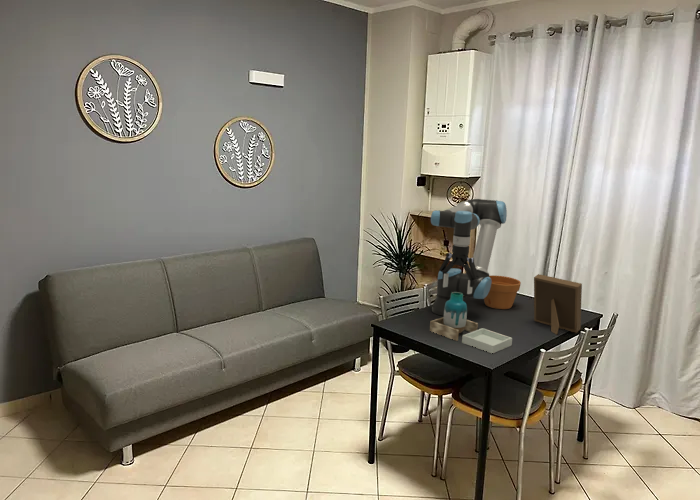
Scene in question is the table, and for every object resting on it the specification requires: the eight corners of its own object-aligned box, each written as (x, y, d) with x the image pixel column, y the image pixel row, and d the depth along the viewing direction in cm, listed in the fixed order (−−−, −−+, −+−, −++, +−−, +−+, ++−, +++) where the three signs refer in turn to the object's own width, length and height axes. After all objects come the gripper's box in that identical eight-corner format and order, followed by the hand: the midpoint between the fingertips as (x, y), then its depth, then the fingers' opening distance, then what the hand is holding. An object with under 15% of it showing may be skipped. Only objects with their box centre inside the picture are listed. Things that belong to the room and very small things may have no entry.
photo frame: (538, 319, 272) (543, 272, 267) (580, 330, 257) (586, 281, 252) (524, 325, 262) (529, 277, 256) (567, 338, 247) (573, 287, 241)
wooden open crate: (429, 331, 248) (430, 321, 247) (450, 324, 259) (451, 314, 258) (456, 341, 237) (457, 330, 236) (477, 333, 248) (478, 323, 247)
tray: (461, 342, 235) (462, 335, 235) (481, 335, 246) (482, 328, 245) (492, 353, 224) (493, 346, 223) (511, 345, 235) (512, 337, 234)
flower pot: (492, 297, 308) (494, 273, 305) (525, 306, 293) (528, 281, 290) (471, 304, 294) (473, 278, 291) (504, 313, 279) (507, 287, 276)
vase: (460, 338, 241) (463, 298, 237) (438, 333, 246) (441, 293, 242) (468, 331, 250) (471, 292, 246) (447, 327, 255) (450, 288, 251)
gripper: (434, 241, 246) (430, 285, 250) (479, 250, 228) (475, 297, 232) (444, 240, 251) (440, 283, 255) (489, 249, 233) (484, 295, 237)
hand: (457, 290), depth 243 cm, fingers open, 13 cm apart
